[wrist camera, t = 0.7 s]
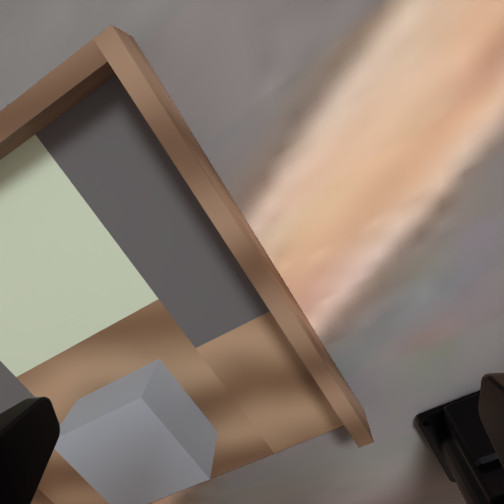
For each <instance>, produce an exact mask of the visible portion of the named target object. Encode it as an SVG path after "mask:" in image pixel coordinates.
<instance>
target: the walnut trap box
mask: <svg viewBox="0 0 504 504" xmlns="http://www.w3.org/2000/svg"><path fill="white" fill-rule="evenodd" d="M114 75H117V76H118V78H119V79H120V81H121V83H122V84H123V86H124V87H125V89H126V90H127V92H128V93H129V95H130V96H131V98H132V99H133V101H134V103H135V104H136V106H137V107H138V109H139V110H140V112H141V113H142V115H143V116H144V118H145V119H146V121H147V123H148V124H149V126H150V127H151V129H152V130H153V132H154V133H155V135H156V136H157V138H158V139H159V141H160V143H161V144H162V146H163V147H164V149H165V150H166V152H167V153H168V155H169V156H170V158H171V159H172V161H173V163H174V164H175V166H176V167H177V169H178V170H179V172H180V173H181V175H182V176H183V178H184V179H185V181H186V183H187V184H188V186H189V187H190V189H191V190H192V192H193V193H194V195H195V196H196V198H197V199H198V201H199V203H200V204H201V206H202V207H203V209H204V210H205V212H206V213H207V215H208V216H209V218H210V219H211V221H212V223H213V224H214V226H215V227H216V229H217V230H218V232H219V233H220V235H221V236H222V238H223V239H224V241H225V243H226V244H227V246H228V247H229V249H230V250H231V252H232V253H233V255H234V256H235V258H236V259H237V261H238V263H239V264H240V266H241V267H242V269H243V270H244V272H245V273H246V275H247V276H248V278H249V279H250V281H251V283H252V284H253V286H254V287H255V289H256V290H257V292H258V293H259V295H260V296H261V298H262V299H263V301H264V303H265V304H266V306H267V307H268V309H269V310H270V311H269V312H267V313H265V314H263V315H261V316H259V317H257V318H255V319H253V320H251V321H249V322H247V323H245V324H243V325H241V326H239V327H237V328H235V329H233V330H231V331H229V332H227V333H225V334H223V335H221V336H219V337H217V338H215V339H213V340H211V341H209V342H207V343H205V344H203V345H201V346H199V347H197V348H195V347H194V346H193V344H192V343H191V342H190V340H189V339H188V338H187V336H186V335H185V334H184V332H183V331H182V330H181V328H180V327H179V326H178V324H177V323H176V322H175V320H174V319H173V318H172V316H171V315H170V314H169V312H168V311H167V310H166V308H165V307H164V306H163V304H162V303H161V302H160V300H159V299H158V300H156V301H154V302H152V303H150V304H149V305H147V306H145V307H143V308H141V309H139V310H138V311H136V312H134V313H132V314H130V315H129V316H127V317H125V318H123V319H121V320H119V321H118V322H116V323H114V324H112V325H110V326H109V327H107V328H105V329H103V330H101V331H99V332H98V333H96V334H94V335H92V336H90V337H88V338H87V339H85V340H83V341H81V342H79V343H78V344H76V345H74V346H72V347H70V348H68V349H67V350H65V351H63V352H61V353H59V354H58V355H56V356H54V357H52V358H50V359H48V360H47V361H45V362H43V363H41V364H39V365H37V366H36V367H34V368H32V369H30V370H28V371H27V372H25V373H23V374H21V375H19V376H17V377H16V378H17V379H18V380H19V381H20V382H21V383H22V384H23V385H24V386H25V387H26V388H27V389H28V390H29V391H30V392H31V393H32V394H33V395H34V396H35V397H43V396H44V397H48V398H49V399H50V400H51V402H52V405H53V408H54V410H55V413H56V416H57V419H58V421H59V424H61V423H62V421H63V420H64V418H65V417H66V416H67V414H68V413H69V411H70V410H71V408H72V407H73V405H74V404H75V402H76V401H77V400H78V399H80V398H82V397H84V396H86V395H88V394H90V393H92V392H94V391H96V390H98V389H100V388H102V387H104V386H106V385H108V384H110V383H112V382H114V381H116V380H118V379H120V378H122V377H123V376H125V375H127V374H129V373H131V372H133V371H135V370H137V369H139V368H141V367H143V366H145V365H147V364H149V363H151V362H153V361H155V360H157V359H160V360H161V361H162V363H163V364H164V365H165V366H166V368H167V369H168V370H169V371H170V373H171V374H172V375H173V376H174V378H175V379H176V380H177V381H178V383H179V384H180V385H181V386H182V388H183V389H184V390H185V392H186V393H187V394H188V395H189V397H190V398H191V399H192V400H193V402H194V403H195V404H196V405H197V407H198V408H199V409H200V410H201V412H202V413H203V414H204V415H205V417H206V418H207V419H208V420H209V422H210V423H211V424H212V426H213V427H214V428H215V429H216V431H217V432H218V435H217V441H216V447H215V453H214V458H213V464H212V470H211V476H210V479H211V478H214V477H216V476H219V475H221V474H224V473H226V472H229V471H231V470H234V469H236V468H239V467H241V466H244V465H246V464H249V463H251V462H254V461H256V460H259V459H261V458H264V457H266V456H269V455H271V454H274V453H276V452H279V451H281V450H284V449H286V448H289V447H291V446H294V445H296V444H299V443H301V442H304V441H306V440H309V439H312V438H314V437H317V436H319V435H322V434H324V433H327V432H329V431H332V430H334V429H337V428H339V427H342V426H345V427H346V429H347V430H348V432H349V433H350V435H351V436H352V438H353V439H354V441H355V443H356V444H357V446H358V447H362V446H364V445H367V444H370V443H372V442H374V441H373V438H372V434H371V431H370V428H369V425H368V422H367V419H366V415H365V412H364V410H363V408H362V407H361V405H360V404H359V402H358V400H357V399H356V397H355V396H354V394H353V392H352V391H351V389H350V387H349V386H348V384H347V383H346V381H345V379H344V378H343V376H342V375H341V373H340V371H339V370H338V368H337V366H336V365H335V363H334V362H333V360H332V358H331V357H330V355H329V354H328V352H327V350H326V349H325V347H324V345H323V344H322V342H321V341H320V339H319V337H318V336H317V334H316V333H315V331H314V329H313V328H312V326H311V324H310V323H309V321H308V320H307V318H306V316H305V315H304V313H303V311H302V310H301V308H300V307H299V305H298V303H297V302H296V300H295V299H294V297H293V295H292V294H291V292H290V290H289V289H288V287H287V286H286V284H285V282H284V281H283V279H282V278H281V276H280V274H279V273H278V271H277V269H276V268H275V266H274V265H273V263H272V261H271V260H270V258H269V257H268V255H267V253H266V252H265V250H264V248H263V247H262V245H261V244H260V242H259V240H258V239H257V237H256V236H255V234H254V232H253V231H252V229H251V227H250V226H249V224H248V223H247V221H246V219H245V218H244V216H243V215H242V213H241V211H240V210H239V208H238V206H237V205H236V203H235V202H234V200H233V198H232V197H231V195H230V194H229V192H228V190H227V189H226V187H225V185H224V184H223V182H222V181H221V179H220V177H219V176H218V174H217V173H216V171H215V169H214V168H213V166H212V164H211V163H210V161H209V160H208V158H207V156H206V155H205V153H204V152H203V150H202V148H201V147H200V145H199V143H198V142H197V140H196V139H195V137H194V135H193V134H192V132H191V131H190V129H189V127H188V126H187V124H186V122H185V121H184V119H183V118H182V116H181V114H180V113H179V111H178V110H177V108H176V106H175V105H174V103H173V101H172V100H171V98H170V97H169V95H168V93H167V92H166V90H165V89H164V87H163V85H162V84H161V82H160V80H159V79H158V77H157V76H156V74H155V72H154V71H153V69H152V68H151V66H150V64H149V63H148V61H147V59H146V58H145V56H144V55H143V53H142V51H141V50H140V48H139V46H138V45H137V43H136V42H135V40H134V38H133V37H132V36H130V35H128V34H127V33H125V32H123V31H121V30H120V29H118V28H116V27H114V26H113V25H110V26H109V27H108V28H106V29H105V30H104V31H103V32H101V33H100V34H99V35H97V36H96V37H95V38H94V39H92V40H91V41H90V42H88V43H87V44H86V45H85V46H83V47H82V48H81V49H80V50H78V51H77V52H76V53H74V54H73V55H72V56H71V57H69V58H68V59H67V60H65V61H64V62H63V63H62V64H60V65H59V66H58V67H57V68H55V69H54V70H53V71H51V72H50V73H49V74H48V75H46V76H45V77H44V78H42V79H41V80H40V81H39V82H37V83H36V84H35V85H34V86H32V87H31V88H30V89H28V90H27V91H26V92H25V93H23V94H22V95H21V96H19V97H18V98H17V99H16V100H14V101H13V102H12V103H11V104H9V105H8V106H7V107H5V108H4V109H3V110H2V111H0V160H1V159H2V158H4V157H5V156H6V155H8V154H9V153H10V152H12V151H13V150H14V149H16V148H17V147H18V146H20V145H21V144H22V143H24V142H25V141H27V140H28V139H29V138H31V137H32V136H33V135H35V134H36V133H37V132H39V131H40V130H41V129H43V128H44V127H45V126H47V125H48V124H49V123H51V122H52V121H54V120H55V119H56V118H58V117H59V116H60V115H62V114H63V113H64V112H66V111H67V110H68V109H70V108H71V107H72V106H74V105H75V104H76V103H78V102H79V101H80V100H82V99H83V98H85V97H86V96H87V95H89V94H90V93H91V92H93V91H94V90H95V89H97V88H98V87H99V86H101V85H102V84H103V83H105V82H106V81H107V80H109V79H110V78H112V77H113V76H114ZM31 504H109V503H108V502H107V501H106V500H105V499H104V498H103V497H102V496H101V495H100V494H99V493H98V492H97V491H96V490H95V489H94V488H93V487H92V486H91V485H90V484H89V483H88V482H87V481H86V480H85V479H84V478H83V477H82V476H81V475H80V474H79V473H78V472H77V471H76V470H75V469H74V468H73V467H72V466H71V465H70V464H69V463H68V462H67V461H66V460H65V459H64V458H63V457H62V456H61V455H60V454H59V453H58V452H57V451H56V450H55V449H54V450H53V453H52V455H51V457H50V460H49V462H48V464H47V467H46V469H45V472H44V474H43V476H42V479H41V481H40V483H39V486H38V488H37V491H36V493H35V495H34V498H33V500H32V502H31Z"/></svg>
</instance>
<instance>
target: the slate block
mask: <svg viewBox="0 0 504 504" xmlns="http://www.w3.org/2000/svg"><path fill="white" fill-rule="evenodd" d="M217 435H218V432H217V431H216V429H215V428H214V427H213V426H212V424H211V423H210V422H209V420H208V419H207V418H206V417H205V415H204V414H203V413H202V412H201V410H200V409H199V408H198V407H197V405H196V404H195V403H194V402H193V400H192V399H191V398H190V397H189V395H188V394H187V393H186V392H185V390H184V389H183V388H182V386H181V385H180V384H179V383H178V381H177V380H176V379H175V378H174V376H173V375H172V374H171V373H170V371H169V370H168V369H167V368H166V366H165V365H164V364H163V363H162V361H161V360H160V359H157V360H155V361H153V362H151V363H149V364H147V365H145V366H143V367H141V368H139V369H137V370H135V371H133V372H131V373H129V374H127V375H125V376H123V377H122V378H120V379H118V380H116V381H114V382H112V383H110V384H108V385H106V386H104V387H102V388H100V389H98V390H96V391H94V392H92V393H90V394H88V395H86V396H84V397H82V398H80V399H78V400H77V401H76V402H75V404H74V405H73V407H72V408H71V410H70V411H69V413H68V414H67V416H66V417H65V418H64V420H63V421H62V423H61V424H60V435H59V438H58V441H57V443H56V446H55V448H54V449H55V450H56V451H57V452H58V453H59V454H60V455H61V456H62V457H63V458H64V459H65V460H66V461H67V462H68V463H69V464H70V465H71V466H72V467H73V468H74V469H75V470H76V471H77V472H78V473H79V474H80V475H81V476H82V477H83V478H84V479H85V480H86V481H87V482H88V483H89V484H90V485H91V486H92V487H93V488H94V489H95V490H96V491H97V492H98V493H99V494H100V495H101V496H102V497H103V498H104V499H105V500H106V501H107V502H108V503H109V504H149V503H152V502H154V501H157V500H159V499H162V498H164V497H167V496H169V495H172V494H174V493H177V492H179V491H182V490H184V489H187V488H189V487H192V486H194V485H197V484H199V483H202V482H204V481H207V480H209V479H210V476H211V470H212V464H213V458H214V453H215V447H216V441H217Z"/></svg>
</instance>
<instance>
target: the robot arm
mask: <svg viewBox="0 0 504 504" xmlns="http://www.w3.org/2000/svg"><path fill="white" fill-rule="evenodd" d="M426 420H427V421H426ZM424 421H425V422H424ZM417 422H418V424H419V426H420V428H421V430H422V432H423V433H424V435H425V437H426V439H427V441H428V442H429V444H430V446H431V448H432V449H433V451H434V453H435V455H436V456H437V458H438V460H439V462H440V463H441V465H442V467H443V469H444V470H445V472H446V474H447V476H448V477H449V479H450V480H451V481H452V482H456V483H457V485H458V487H459V489H460V491H461V493H462V495H463V497H464V499H465V501H466V503H467V504H504V373H490V374H485V375H484V376H483V377H482V380H481V388H480V391H478V392H476V393H473V394H470V395H468V396H465V397H463V398H460V399H458V400H455V401H452V402H450V403H447V404H445V405H442V406H439V407H437V408H434V409H432V410H429V411H426V412H424V413H421V414H420V415H418V416H417ZM59 435H60V424H59V421H58V419H57V416H56V413H55V410H54V408H53V405H52V402H51V400H50V399H49V398H48V397H44V396H43V397H29V398H26V399H24V400H23V401H21V402H19V403H18V404H16V405H14V406H12V407H11V408H9V409H7V410H6V411H4V412H2V413H0V504H31V502H32V500H33V498H34V495H35V493H36V491H37V488H38V486H39V483H40V481H41V479H42V476H43V474H44V472H45V469H46V467H47V464H48V462H49V460H50V457H51V455H52V453H53V450H54V448H55V446H56V443H57V441H58V438H59Z"/></svg>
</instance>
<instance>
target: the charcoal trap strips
mask: <svg viewBox="0 0 504 504" xmlns="http://www.w3.org/2000/svg"><path fill="white" fill-rule="evenodd" d="M35 135H36V136H37V137H38V139H39V140H40V141H41V143H42V144H43V145H44V147H45V148H46V149H47V151H48V152H49V153H50V155H51V156H52V157H53V159H54V160H55V161H56V163H57V164H58V165H59V167H60V168H61V169H62V171H63V172H64V173H65V175H66V176H67V177H68V179H69V180H70V181H71V183H72V184H73V185H74V187H75V188H76V189H77V191H78V192H79V193H80V195H81V196H82V197H83V199H84V200H85V201H86V203H87V204H88V205H89V207H90V208H91V209H92V211H93V212H94V213H95V215H96V216H97V217H98V219H99V220H100V221H101V223H102V224H103V225H104V227H105V228H106V229H107V231H108V232H109V233H110V235H111V236H112V237H113V239H114V240H115V241H116V243H117V244H118V245H119V247H120V248H121V249H122V251H123V252H124V253H125V255H126V256H127V257H128V259H129V260H130V262H131V263H132V264H133V266H134V267H135V268H136V270H137V271H138V272H139V274H140V275H141V276H142V278H143V279H144V280H145V282H146V283H147V284H148V286H149V287H150V288H151V290H152V291H153V292H154V294H155V295H156V296H157V298H158V299H159V300H160V302H161V303H162V304H163V306H164V307H165V308H166V310H167V311H168V312H169V314H170V315H171V316H172V318H173V319H174V320H175V322H176V323H177V324H178V326H179V327H180V328H181V330H182V331H183V332H184V334H185V335H186V336H187V338H188V339H189V340H190V342H191V343H192V344H193V346H194V347H195V348H197V347H199V346H201V345H203V344H205V343H207V342H209V341H211V340H213V339H215V338H217V337H219V336H221V335H223V334H225V333H227V332H229V331H231V330H233V329H235V328H237V327H239V326H241V325H243V324H245V323H247V322H249V321H251V320H253V319H255V318H257V317H259V316H261V315H263V314H265V313H267V312H269V311H270V310H269V309H268V307H267V306H266V304H265V303H264V301H263V299H262V298H261V296H260V295H259V293H258V292H257V290H256V289H255V287H254V286H253V284H252V283H251V281H250V279H249V278H248V276H247V275H246V273H245V272H244V270H243V269H242V267H241V266H240V264H239V263H238V261H237V259H236V258H235V256H234V255H233V253H232V252H231V250H230V249H229V247H228V246H227V244H226V243H225V241H224V239H223V238H222V236H221V235H220V233H219V232H218V230H217V229H216V227H215V226H214V224H213V223H212V221H211V219H210V218H209V216H208V215H207V213H206V212H205V210H204V209H203V207H202V206H201V204H200V203H199V201H198V199H197V198H196V196H195V195H194V193H193V192H192V190H191V189H190V187H189V186H188V184H187V183H186V181H185V179H184V178H183V176H182V175H181V173H180V172H179V170H178V169H177V167H176V166H175V164H174V163H173V161H172V159H171V158H170V156H169V155H168V153H167V152H166V150H165V149H164V147H163V146H162V144H161V143H160V141H159V139H158V138H157V136H156V135H155V133H154V132H153V130H152V129H151V127H150V126H149V124H148V123H147V121H146V119H145V118H144V116H143V115H142V113H141V112H140V110H139V109H138V107H137V106H136V104H135V103H134V101H133V99H132V98H131V96H130V95H129V93H128V92H127V90H126V89H125V87H124V86H123V84H122V83H121V81H120V79H119V78H118V76H117V75H114V76H113V77H112V78H110V79H109V80H107V81H106V82H105V83H103V84H102V85H101V86H99V87H98V88H97V89H95V90H94V91H93V92H91V93H90V94H89V95H87V96H86V97H85V98H83V99H82V100H80V101H79V102H78V103H76V104H75V105H74V106H72V107H71V108H70V109H68V110H67V111H66V112H64V113H63V114H62V115H60V116H59V117H58V118H56V119H55V120H54V121H52V122H51V123H49V124H48V125H47V126H45V127H44V128H43V129H41V130H40V131H39V132H37V133H36V134H35ZM29 397H35V396H34V395H33V394H32V393H31V392H30V391H29V390H28V389H27V388H26V387H25V386H24V385H23V384H22V383H21V382H20V381H19V380H18V379H17V378H16V377H15V376H14V375H13V374H12V372H11V371H10V370H9V369H8V368H7V367H6V366H5V365H4V364H3V363H2V362H1V361H0V413H2V412H4V411H6V410H7V409H9V408H11V407H12V406H14V405H16V404H18V403H19V402H21V401H23V400H24V399H26V398H29Z"/></svg>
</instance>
